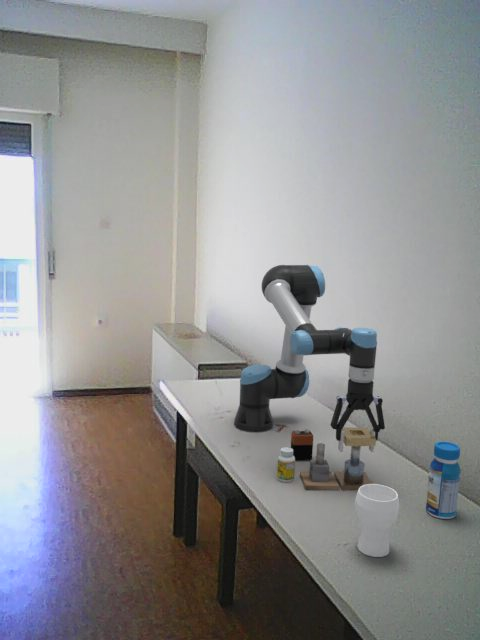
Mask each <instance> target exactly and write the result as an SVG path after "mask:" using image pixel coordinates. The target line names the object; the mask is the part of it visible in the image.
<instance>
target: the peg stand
mask: <svg viewBox="0 0 480 640" xmlns="http://www.w3.org/2000/svg"><path fill="white" fill-rule="evenodd" d="M361 447H362V446H350V448H351V449H350V459H346V460H345V461H344V469H343V470H344V471H333V476H334V478H335V480H336V482H337V484H338V485H339V487H338V488H340V490H341V491H358V489H359V488H360V487H361V486H363V485H366V484H374V483H373V481H372V480H371V479H370V477H369V476H368V474H367V473H366V471H365V466H366V463H365V462H364V461H362V460H360V459H361Z"/></svg>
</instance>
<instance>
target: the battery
mask: <svg viewBox="0 0 480 640" xmlns="http://www.w3.org/2000/svg"><path fill="white" fill-rule="evenodd" d="M290 433H291V434H290V435H291V436H290V448H292V449H293V456H294V457H295V462H298V461H310V460H313V453H314V452H313V450H314V435H313V432H312V431H311V429H308V428H307V429H304V430H299V429H295V430H292V431H291V432H290Z"/></svg>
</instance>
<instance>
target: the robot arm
mask: <svg viewBox="0 0 480 640" xmlns="http://www.w3.org/2000/svg"><path fill="white" fill-rule="evenodd" d="M325 290H326V280H325V276H324V273H323V271H322V269H321V268H320V267H318V265H310V264H287V265H286V264H280V265H276V266H275V265H274V266H273V267H271V268H270V269H269V270H268V271H266V273H265V274H264V276H263V277H262V281H261V292H262V294H263V296H264V298H265V300H266V301H267V302H269V303H270V304H272V306H273V308H274V310H276V312H277V314H278V315H279V317H280V318H281V320H282V322H283V324H284V325H285V326H284V327H285V328H284V334H283V341H282V347H281V355H280V359H279V360H278V361H277V362H276V363H275V368H271V366H269V365H267V364H254V365H249V366H247V367H245V368H243V369H242V371H241V372H240V379H239V385H240V386H239V405H238V408H237V410H236V411H237V412H236V414H235V417H234V422H233V424H234V427H235V428H236V429H239V430H242V431H244V432H245V431H246V432H251V433H252V432H253V433H257V432H258V433H259V432H266V431H269V430H271V429H272V428H273V427H274V426H273V425H274V420H273V416H272V411H271V409H270V400H276V399H295V398H301V397H303V396H305V395H306V393H307V392H308V390H309V386H310V373H309V371H308V370H307V368H306V365H305V364H304V363H303V361H304V356H312V355H313V356H314V355H336V354H337V355H338V354H339V355H341V354H345V355H347V356H349V365H348V366H349V367H348V378H349V379H348V380H347V393H346V395H344V396H340V395H337V396H336V404H335V409H334V412H333V414H332V417H331V421H330V424H329V425H330V426H331V429H333V430H335V438H336V439H335V440H336V441H338V444H337V445H338V446H337V449H338V451H339V453H343V452H344V442H343V439H344V431H343V427H344V426H345V425H346V423H348V420H349V419H350V417H351V415H352V413H354V411H359V410H360V411H365V413H366V415H367V418H368V420H369V422H370V423H371V424H370V425H371V427H372V428H370V429H369V430H370V432H371V433H372V434H373V435H374V436H375V438H376V442H377V441H378V439H379V432H381V431H382V430H385V429H386V427H385V426H386V425H385V418H384V413H383V412H384V411H383V407H382V405H383V398H382V397H380V396H374V394H373V393H374V381H373V380H374V379H375V366H376V357H377V346H378V341H377V340H378V339H377V338H378V333H377V331H376V330H375V329H373V328H369V327H368V328H367V327H355V328H353V329H351V328H348V327H343V326H339V327H336V328H334V329H317V328H316V327H315V326H314V323H312V321H311V320H310V319H311V318H310V317H311V311H312V307H314V306H315V305H316V304H317V299H318V298H321V297H323V296H324V295H325ZM345 402H347V403H348V404H347V406H346V409H345V411H344V412H343V413H342V415H341V412H342V410H343V405H344V404H345ZM372 403H374V404H375V405H374V406H375V410H376V412H375V413H376V416H377V417H376V418H377V421H376V419H375V416H374V415H373V412H372V409H371V404H372ZM340 416H341V417H340ZM368 450H369V451H370V452H371V453H374V452H375V446H368Z"/></svg>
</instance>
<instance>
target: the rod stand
mask: <svg viewBox="0 0 480 640" xmlns="http://www.w3.org/2000/svg"><path fill="white" fill-rule="evenodd" d="M325 447H326V444H324V443H323V442H318V443H317V444H316V455H315V457H316V458H315V459H312V460H309V471H299V479H300V480H301V482H302V485H303V488H304V490H305V491H339V488H340V487H339V485H338V483H337V481H336V479H335V477H334V473H332V471H330V464H329V463H328V461H327V460H326V459H325V451H326V450H325Z"/></svg>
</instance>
